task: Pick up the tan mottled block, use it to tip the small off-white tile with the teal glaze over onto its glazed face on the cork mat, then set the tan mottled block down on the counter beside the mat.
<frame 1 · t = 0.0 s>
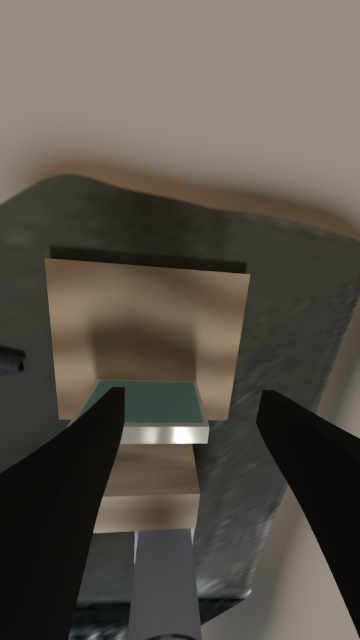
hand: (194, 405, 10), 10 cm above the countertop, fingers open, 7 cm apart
tan mottled block: (146, 441, 22), on the countertop
tile: (147, 386, 19), point 1 cm above the countertop, touching cork mat
cork mat: (150, 347, 19), on the countertop
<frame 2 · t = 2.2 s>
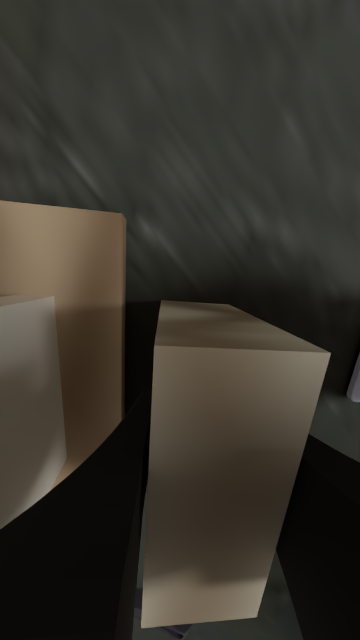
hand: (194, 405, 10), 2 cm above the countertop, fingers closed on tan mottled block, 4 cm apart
tan mottled block: (188, 379, 12), on the countertop, touching gripper
tile: (46, 386, 10), point 1 cm above the countertop, touching cork mat
bracket: (114, 577, 17), on the countertop
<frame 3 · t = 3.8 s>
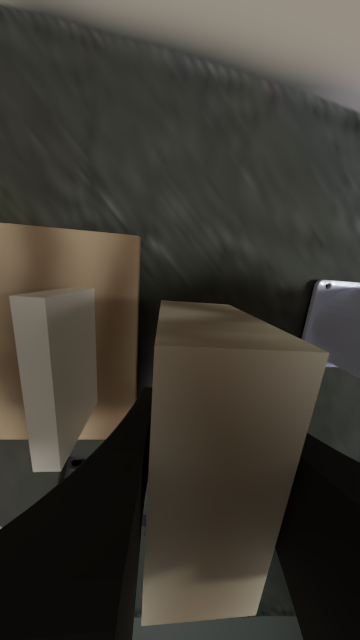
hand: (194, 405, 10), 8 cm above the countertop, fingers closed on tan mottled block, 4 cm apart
tan mottled block: (188, 379, 12), point 5 cm above the countertop, touching gripper
tile: (86, 349, 15), point 1 cm above the countertop, touching cork mat
cork mat: (42, 342, 16), on the countertop
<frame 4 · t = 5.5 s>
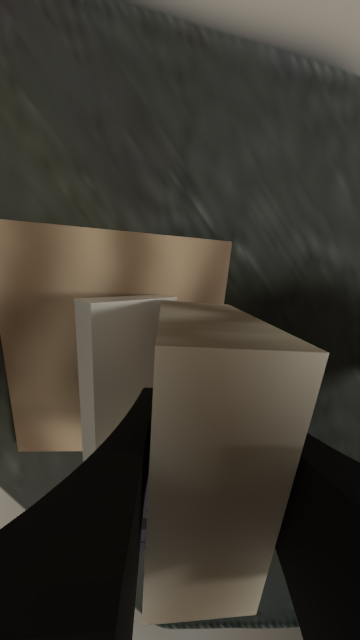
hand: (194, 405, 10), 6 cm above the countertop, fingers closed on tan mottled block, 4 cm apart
tan mottled block: (188, 379, 12), point 4 cm above the countertop, touching gripper
tile: (164, 361, 14), point 1 cm above the countertop, tilted 42°, touching cork mat
cork mat: (118, 351, 15), on the countertop
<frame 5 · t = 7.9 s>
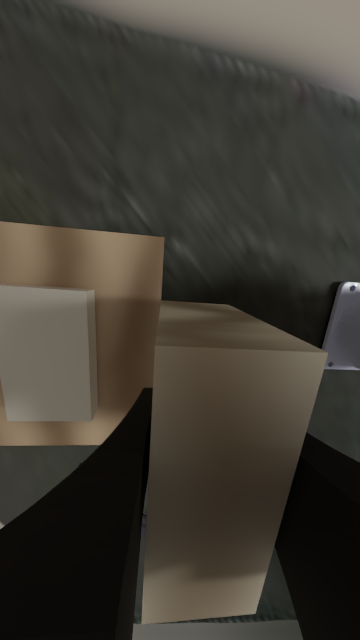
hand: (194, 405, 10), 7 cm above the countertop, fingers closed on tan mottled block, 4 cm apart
tan mottled block: (188, 379, 12), point 5 cm above the countertop, touching gripper
tile: (92, 357, 14), point 2 cm above the countertop, tilted 90°, touching cork mat
cork mat: (61, 346, 16), on the countertop
when the fingers open (4 cm above the countertop, at t = 10.2 s): tan mottled block drops 1 cm, on the countertop.
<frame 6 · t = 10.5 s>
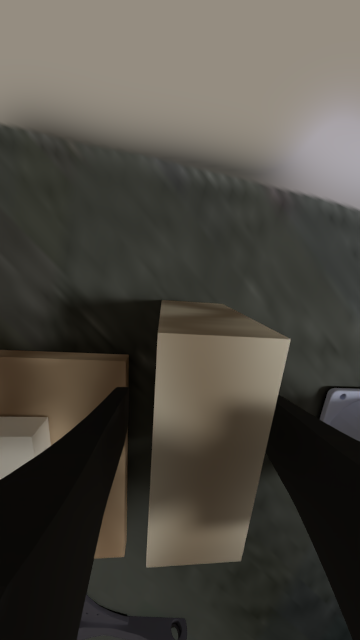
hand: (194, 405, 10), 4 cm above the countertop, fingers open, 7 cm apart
tan mottled block: (186, 371, 13), on the countertop
tile: (47, 489, 12), point 2 cm above the countertop, tilted 90°, touching cork mat
cork mat: (18, 462, 14), on the countertop
bracket: (118, 606, 20), on the countertop
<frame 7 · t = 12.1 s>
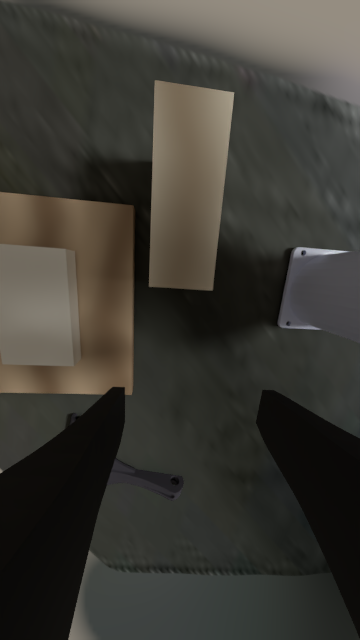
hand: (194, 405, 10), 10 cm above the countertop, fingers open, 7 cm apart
tan mottled block: (179, 228, 17), on the countertop
tile: (74, 310, 16), point 2 cm above the countertop, tilted 90°, touching cork mat
cork mat: (49, 304, 18), on the countertop
bracket: (126, 465, 24), on the countertop
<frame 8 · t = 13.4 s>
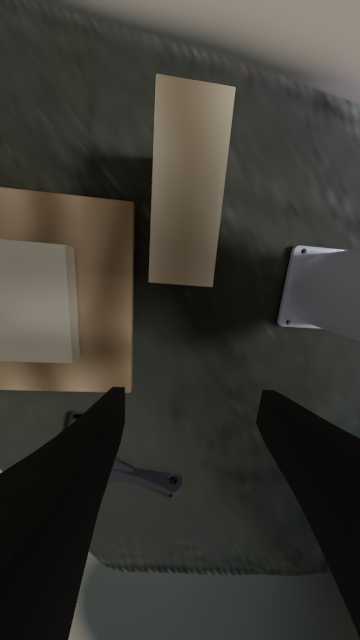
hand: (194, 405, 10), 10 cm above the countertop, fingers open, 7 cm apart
tan mottled block: (179, 225, 17), on the countertop
tile: (73, 307, 16), point 2 cm above the countertop, tilted 90°, touching cork mat
cork mat: (48, 301, 18), on the countertop
bracket: (124, 464, 24), on the countertop
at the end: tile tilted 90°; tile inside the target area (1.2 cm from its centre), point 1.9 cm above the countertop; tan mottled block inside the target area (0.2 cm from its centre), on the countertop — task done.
